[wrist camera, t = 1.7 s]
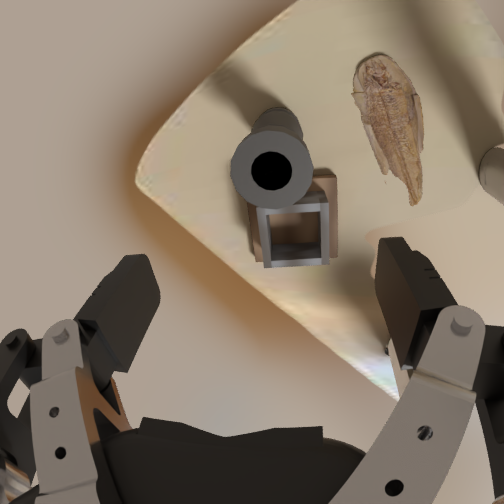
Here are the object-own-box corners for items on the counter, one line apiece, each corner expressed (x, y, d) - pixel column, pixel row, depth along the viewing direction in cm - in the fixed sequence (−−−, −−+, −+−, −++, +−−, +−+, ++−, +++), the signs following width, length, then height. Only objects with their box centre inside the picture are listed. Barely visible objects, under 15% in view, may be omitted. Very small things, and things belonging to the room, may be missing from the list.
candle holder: (274, 98, 39) (262, 107, 17) (308, 124, 40) (336, 166, 19) (249, 130, 42) (209, 178, 20) (282, 155, 43) (278, 228, 22)
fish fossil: (438, 197, 43) (440, 200, 42) (387, 214, 47) (388, 217, 46) (395, 50, 32) (397, 49, 31) (334, 67, 36) (335, 67, 35)
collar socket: (335, 174, 44) (342, 188, 38) (336, 252, 51) (341, 274, 45) (245, 181, 46) (239, 195, 40) (256, 257, 53) (252, 279, 47)
